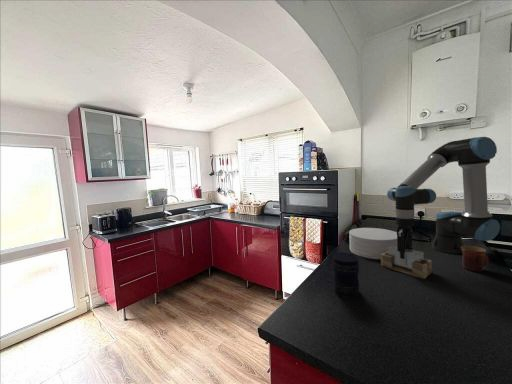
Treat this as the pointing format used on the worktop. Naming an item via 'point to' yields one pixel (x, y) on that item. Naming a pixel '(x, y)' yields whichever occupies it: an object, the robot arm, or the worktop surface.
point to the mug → (474, 258)
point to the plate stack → (371, 241)
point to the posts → (416, 270)
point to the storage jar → (346, 274)
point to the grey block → (410, 256)
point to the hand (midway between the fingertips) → (405, 262)
